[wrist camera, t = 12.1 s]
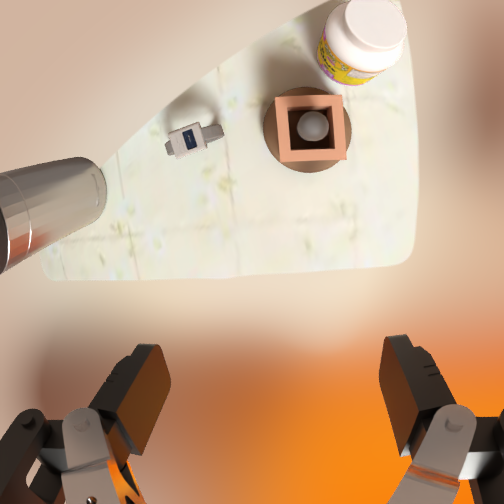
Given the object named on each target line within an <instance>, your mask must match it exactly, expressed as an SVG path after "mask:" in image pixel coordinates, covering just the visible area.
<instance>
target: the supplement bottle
mask: <svg viewBox="0 0 504 504" xmlns="http://www.w3.org/2000/svg"><path fill="white" fill-rule="evenodd" d="M406 33H407V24H406V21H405V18H404V16H403V14H402V12H401V11H400V10H399V8H398V7H397V6H396V5H394V4H393V3H392V2H390V1H389V0H350V1H348V2H345V3H343V4H340V5H339V6H337V7H336V8H335V9H334V10H333V11H332V12H331V13H330V15H329V17H328V19H327V21H326V25H325V28H324V31H323V33H322V37H321V39H320V42H319V45H318V49H317V60H318V63H319V66H320V68H321V69H322V71H323V72H324V73H325V75H326V76H327V77H329V78H330V79H331V80H333V81H334V82H336V83H339V84H341V85H345V86H358V85H361V84H364V83H366V82H368V81H370V80H371V79H372V78H374V77H375V76H377V75H378V74H380V73H381V72H383V71H384V70H386V69H387V68H389V67H391V66H392V65H393V64H395V63H396V62H397V61H398V59H399V58H400V56H401V54H402V52H403V49H404V38H405V36H406Z"/></svg>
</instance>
